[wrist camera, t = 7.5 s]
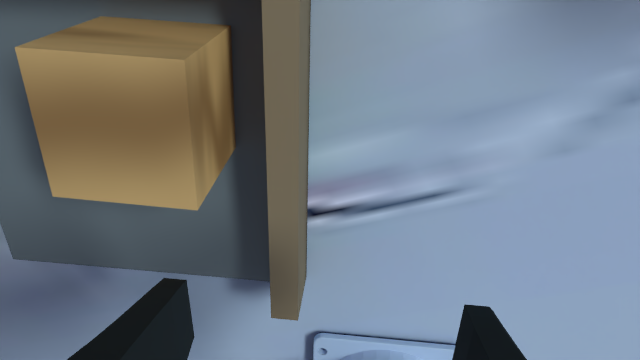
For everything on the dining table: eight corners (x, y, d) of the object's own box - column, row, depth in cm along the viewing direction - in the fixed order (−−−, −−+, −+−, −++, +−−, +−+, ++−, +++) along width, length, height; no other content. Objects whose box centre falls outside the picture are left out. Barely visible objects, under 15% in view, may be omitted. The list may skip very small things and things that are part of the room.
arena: (306, 276, 24) (297, 320, 21) (20, 251, 25) (-21, 290, 23) (311, -60, 17) (299, -56, 14) (-89, -73, 18) (-169, -72, 15)
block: (235, 147, 20) (197, 210, 16) (120, 137, 21) (52, 196, 16) (230, 25, 18) (184, 59, 14) (100, 16, 18) (14, 46, 14)
